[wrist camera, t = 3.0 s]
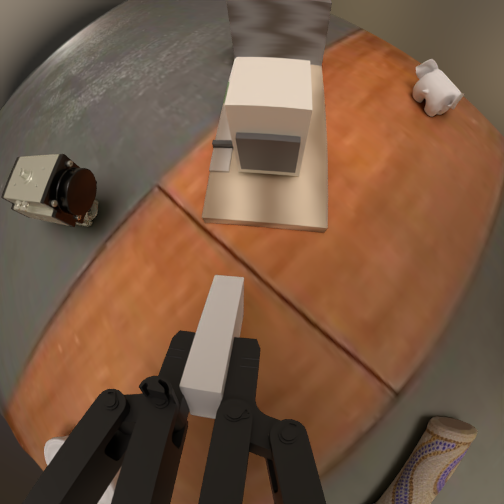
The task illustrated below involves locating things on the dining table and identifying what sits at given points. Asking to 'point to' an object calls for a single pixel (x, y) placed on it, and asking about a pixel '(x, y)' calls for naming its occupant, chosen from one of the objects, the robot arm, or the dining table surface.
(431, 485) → the decorative bottle
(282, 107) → the block
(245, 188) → the board
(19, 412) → the dining table surface
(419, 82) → the elephant figurine
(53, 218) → the pneumatic valve
